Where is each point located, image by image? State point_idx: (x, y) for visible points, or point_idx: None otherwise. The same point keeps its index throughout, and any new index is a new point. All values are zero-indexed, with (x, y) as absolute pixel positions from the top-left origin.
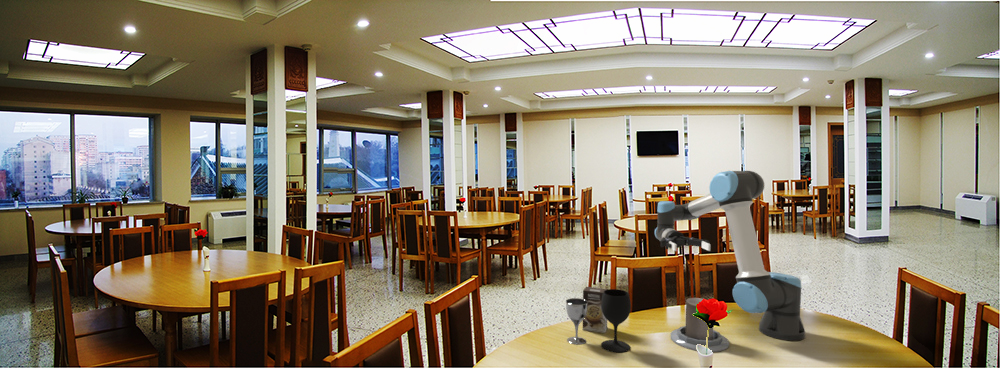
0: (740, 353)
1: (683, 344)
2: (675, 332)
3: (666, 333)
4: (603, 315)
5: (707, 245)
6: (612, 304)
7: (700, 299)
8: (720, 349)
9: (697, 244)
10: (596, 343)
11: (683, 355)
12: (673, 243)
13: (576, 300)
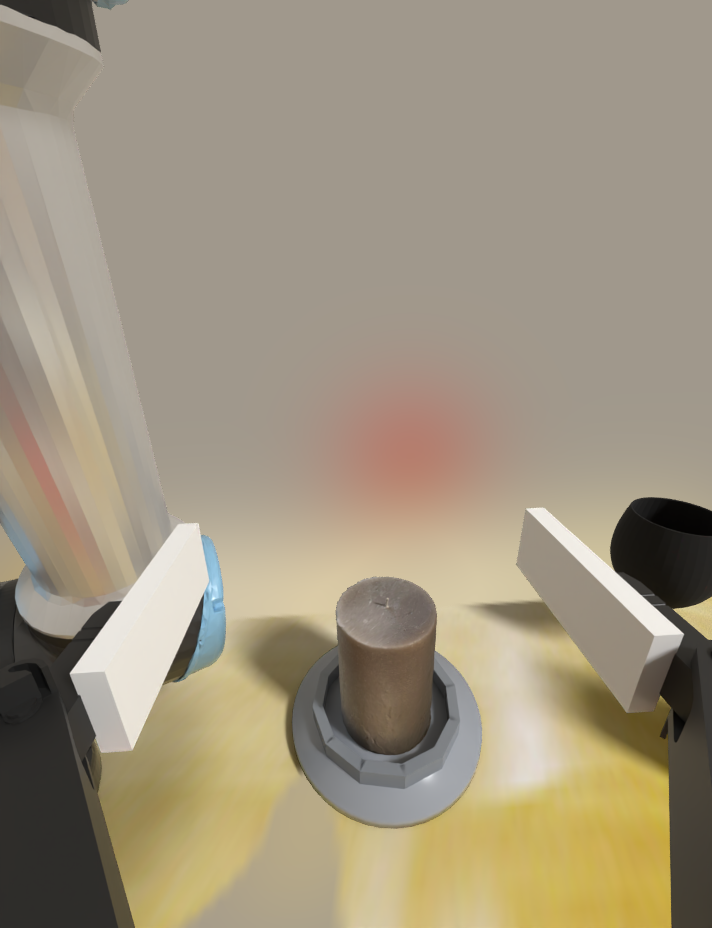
0: (302, 639)
1: (443, 657)
2: (463, 753)
3: (497, 777)
4: None
5: (192, 553)
6: (658, 516)
7: (375, 629)
8: None
9: (106, 841)
10: None
11: (448, 621)
12: (566, 534)
13: None
